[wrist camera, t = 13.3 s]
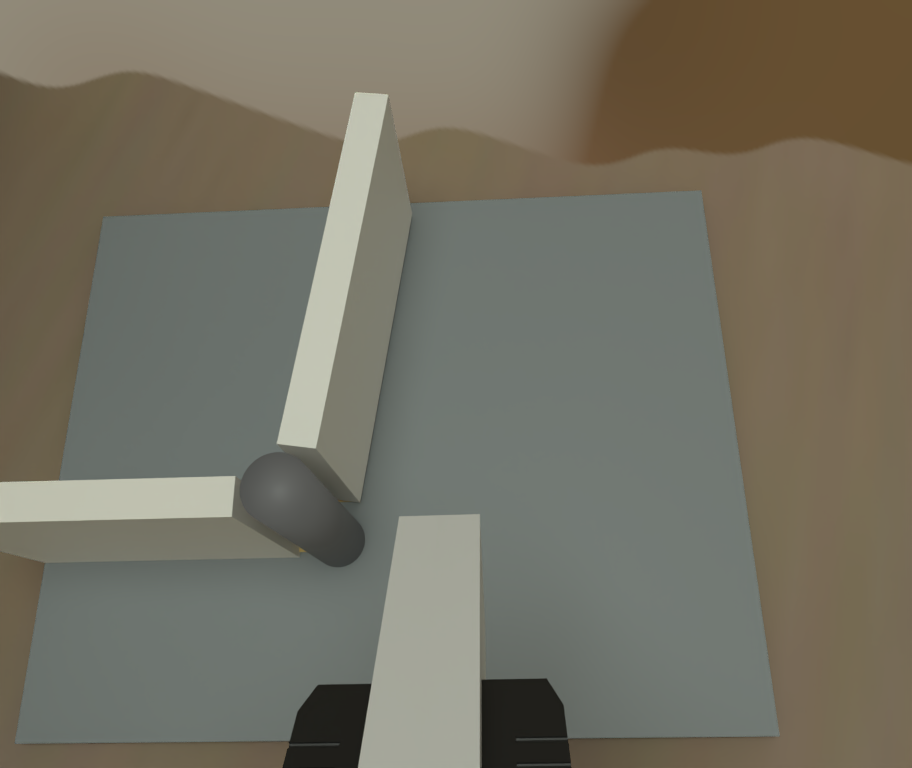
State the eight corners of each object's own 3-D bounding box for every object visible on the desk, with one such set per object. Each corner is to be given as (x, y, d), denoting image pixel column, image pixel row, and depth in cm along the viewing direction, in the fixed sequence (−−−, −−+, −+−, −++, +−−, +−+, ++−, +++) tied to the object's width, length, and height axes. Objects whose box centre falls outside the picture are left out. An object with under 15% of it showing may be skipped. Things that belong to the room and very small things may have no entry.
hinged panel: (360, 502, 30) (315, 448, 23) (330, 498, 31) (276, 443, 23) (412, 213, 35) (388, 94, 28) (385, 211, 35) (354, 92, 28)
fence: (43, 573, 30) (-133, 532, 22) (52, 521, 31) (-116, 462, 23) (364, 566, 30) (309, 521, 21) (365, 514, 31) (312, 451, 22)
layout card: (22, 742, 29) (12, 743, 28) (108, 222, 37) (102, 215, 36) (774, 735, 27) (780, 736, 27) (698, 197, 35) (701, 189, 35)
